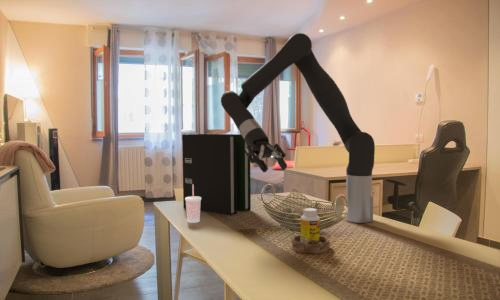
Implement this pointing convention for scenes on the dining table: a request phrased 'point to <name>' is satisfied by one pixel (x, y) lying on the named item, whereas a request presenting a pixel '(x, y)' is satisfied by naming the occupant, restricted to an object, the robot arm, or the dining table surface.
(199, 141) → the binder
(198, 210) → the beverage cup
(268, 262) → the dining table surface
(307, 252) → the collar dish
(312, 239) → the supplement bottle
